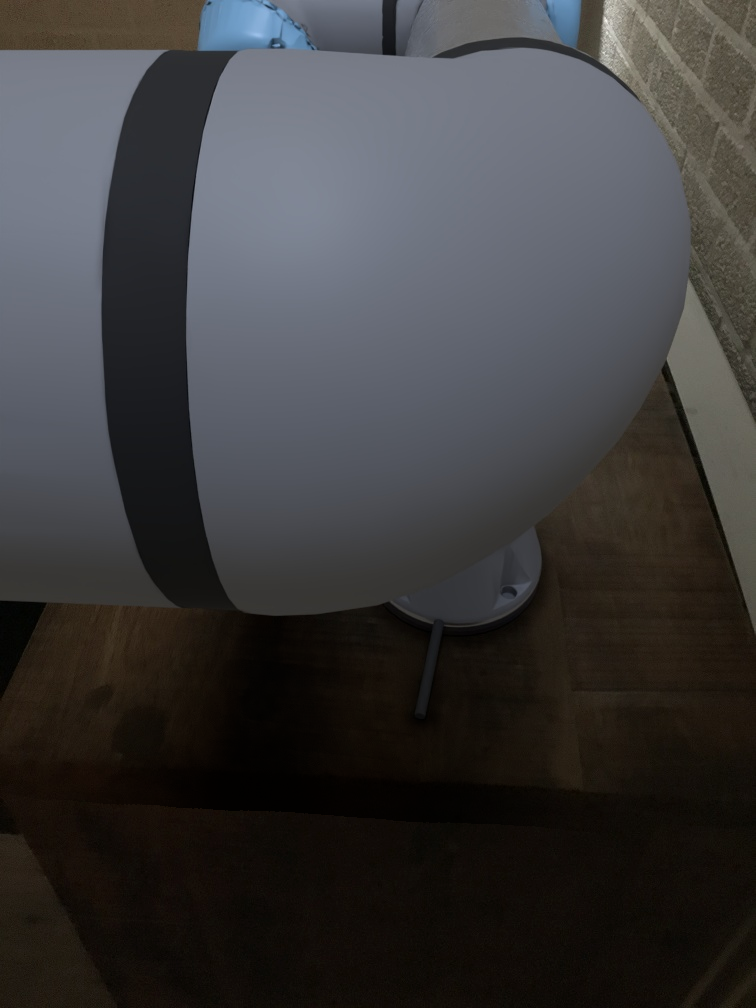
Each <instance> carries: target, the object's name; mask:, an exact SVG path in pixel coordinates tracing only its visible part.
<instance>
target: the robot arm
mask: <svg viewBox="0 0 756 1008" xmlns="http://www.w3.org/2000/svg"><path fill="white" fill-rule="evenodd" d="M581 14H582V0H204V4H203V7H202V8H201V11H200V15H199V23H198V30H199V32H198V40H197V50H184V49H0V601H7V602H27V603H28V602H30V603H33V602H34V603H50V604H51V603H53V604H73V605H74V604H78V605H97V606H99V605H100V606H101V605H102V606H121V607H122V606H124V607H145V608H146V607H147V608H165V609H166V608H167V609H168V608H169V609H202V610H218V611H219V610H221V611H239V612H240V611H241V612H242V613H244V614H250V615H251V614H253V615H261V616H262V615H263V616H271V617H272V616H273V617H279V616H280V617H282V616H283V617H284V616H307V615H321V614H327V613H335V612H341V611H342V612H343V611H349V610H355V609H361V608H370V607H375V606H379V605H383V606H384V607H385V608H386V609H387V610H388V611H389V612H390V613H392V615H394V616H396V617H397V618H398V619H400V620H401V621H403V622H405V623H407V624H409V625H411V626H413V627H415V628H418V629H420V630H423V631H426V632H429V633H431V634H430V639H429V643H428V648H427V653H426V657H425V662H424V667H423V670H422V677H421V681H420V686H419V692H418V696H417V700H416V705H415V708H414V709H415V710H414V715H413V716H414V717H415V718H416V719H418V720H424V719H426V715H427V711H428V706H429V701H430V696H431V691H432V686H433V680H434V676H435V671H436V666H437V661H438V655H439V651H440V646H441V640H442V636H443V635H447V636H469V635H477V634H482V633H486V632H489V631H493V630H496V629H498V628H500V627H502V626H504V625H506V624H508V623H510V622H511V621H514V620H515V619H516V618H518V616H520V615H521V614H522V613H523V612H524V611H525V610H526V609H527V608H528V606H529V605H530V604H531V602H532V601H533V599H534V597H535V596H536V592H537V590H538V587H539V583H540V579H541V574H542V573H541V572H542V568H543V559H542V551H541V550H542V549H541V545H540V541H539V538H538V534H537V531H536V527H535V526H536V525H537V524H539V523H540V522H541V521H543V520H544V519H545V518H546V517H548V516H549V515H550V514H551V513H552V512H553V511H554V510H555V509H556V508H557V507H558V506H559V505H560V504H562V502H564V501H565V500H566V499H567V498H568V497H569V496H570V495H571V494H572V493H574V492H575V490H576V489H577V488H578V487H579V486H580V485H581V484H582V482H583V481H584V480H585V479H587V477H588V476H589V475H590V474H591V472H592V471H594V469H595V468H596V467H597V466H598V465H599V464H600V462H601V461H602V460H604V458H605V457H606V456H607V454H608V453H609V452H610V451H611V450H612V449H613V448H614V447H615V446H616V444H617V443H618V442H619V441H620V439H621V438H622V436H623V434H624V433H625V432H626V430H627V428H629V426H630V424H631V423H632V421H633V420H634V419H635V417H636V415H637V414H638V413H639V411H640V410H641V408H642V407H643V404H644V403H645V401H646V399H647V397H648V395H649V393H650V392H651V390H652V387H653V386H654V384H655V382H656V380H657V378H658V377H659V375H660V373H661V371H662V369H663V367H664V366H665V363H666V361H667V359H668V356H669V354H670V350H671V348H672V345H673V342H674V340H675V336H676V333H677V330H678V327H679V324H680V321H681V319H682V315H683V313H684V310H685V304H686V299H687V298H686V297H687V289H688V284H689V276H690V264H691V248H692V247H691V245H692V222H691V221H692V220H691V216H690V212H689V207H688V202H687V198H686V192H685V189H684V183H683V179H682V178H683V177H682V174H681V169H680V166H679V164H678V162H677V160H676V157H675V155H674V154H673V152H672V149H671V148H670V145H669V143H668V142H667V140H666V137H665V136H664V134H663V132H662V130H661V129H660V128H659V126H658V124H657V123H656V121H655V120H654V119H653V117H652V115H651V114H650V113H649V111H648V110H647V108H646V106H644V104H643V103H642V101H641V100H640V98H639V97H638V95H637V94H636V93H635V92H634V91H633V89H632V88H631V87H630V86H629V85H628V84H627V83H626V82H625V81H623V79H622V78H620V77H619V76H618V75H617V74H616V73H614V71H612V70H611V68H609V66H607V65H606V64H604V63H603V62H601V61H599V60H598V59H596V58H595V57H593V56H591V55H590V54H588V53H586V52H584V51H582V50H579V49H578V41H579V33H580V25H581Z"/></svg>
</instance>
